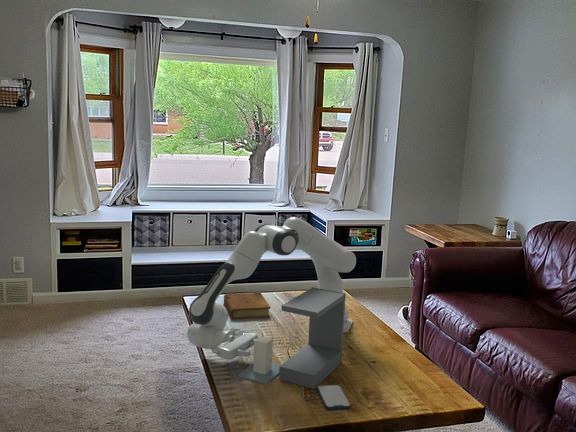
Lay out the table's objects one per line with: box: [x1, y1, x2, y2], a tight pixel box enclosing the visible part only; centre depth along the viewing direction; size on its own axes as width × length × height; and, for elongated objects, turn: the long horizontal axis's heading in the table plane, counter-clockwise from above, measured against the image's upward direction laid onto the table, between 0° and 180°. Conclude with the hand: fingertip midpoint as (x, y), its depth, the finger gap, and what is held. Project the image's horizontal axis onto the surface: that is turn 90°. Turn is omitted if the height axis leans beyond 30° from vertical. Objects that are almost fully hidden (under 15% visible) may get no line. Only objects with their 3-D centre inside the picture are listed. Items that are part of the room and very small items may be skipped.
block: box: [253, 335, 274, 374], centre depth 208 cm, size 5×5×12 cm
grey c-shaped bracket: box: [278, 287, 346, 390], centre depth 209 cm, size 26×14×28 cm, turn 153°
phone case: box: [316, 384, 352, 412], centre depth 191 cm, size 9×2×16 cm
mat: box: [236, 362, 281, 385], centre depth 209 cm, size 16×12×1 cm
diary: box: [223, 291, 271, 320], centre depth 275 cm, size 23×19×6 cm
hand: (256, 349), depth 209 cm, fingers open, 8 cm apart
